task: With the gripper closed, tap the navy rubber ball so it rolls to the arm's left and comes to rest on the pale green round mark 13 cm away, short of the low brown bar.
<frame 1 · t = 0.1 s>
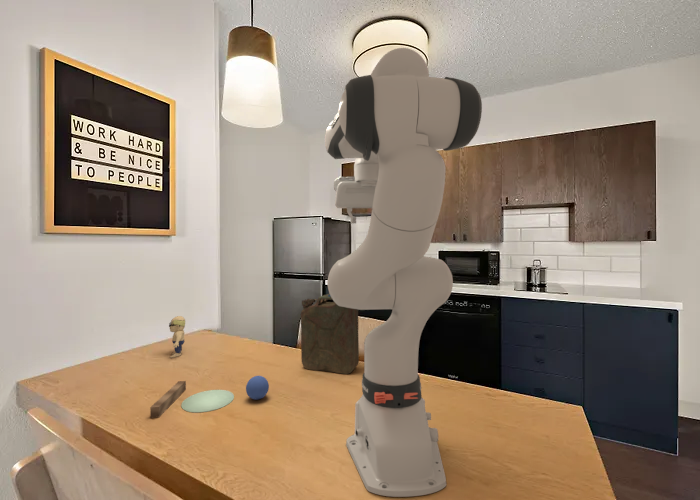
hand: (369, 223, 101), 48 cm above the table, tool pointing down, fingers open, 8 cm apart
toy: (177, 355, 130), on the table
canister: (329, 368, 114), on the table
ball: (257, 387, 92), on the table
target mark: (208, 400, 91), on the table
brown bar: (169, 402, 90), on the table
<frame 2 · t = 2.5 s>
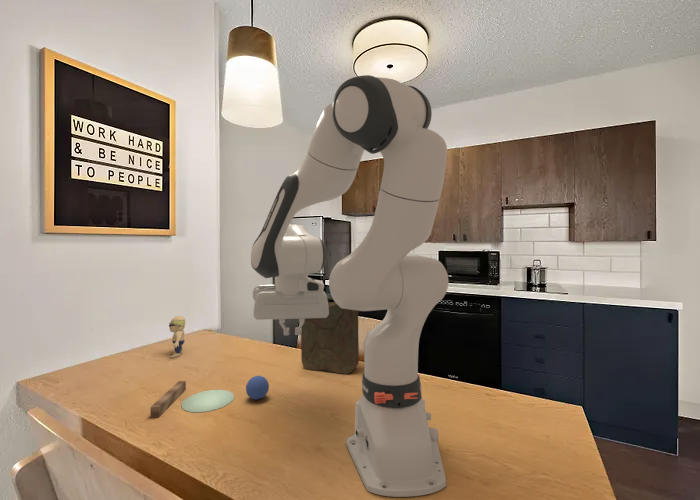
hand: (292, 334, 93), 17 cm above the table, tool pointing down, fingers closed
nothing on the table moved.
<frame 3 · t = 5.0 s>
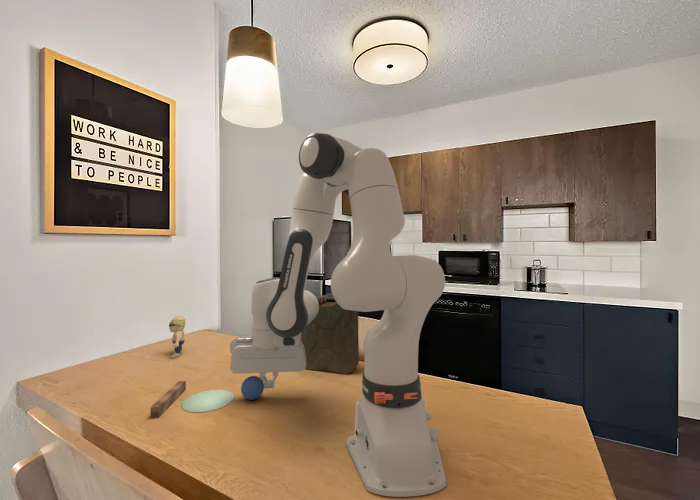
hand: (269, 387, 93), 3 cm above the table, tool pointing down, fingers closed
ball: (252, 387, 92), on the table, touching gripper
everything else where it was.
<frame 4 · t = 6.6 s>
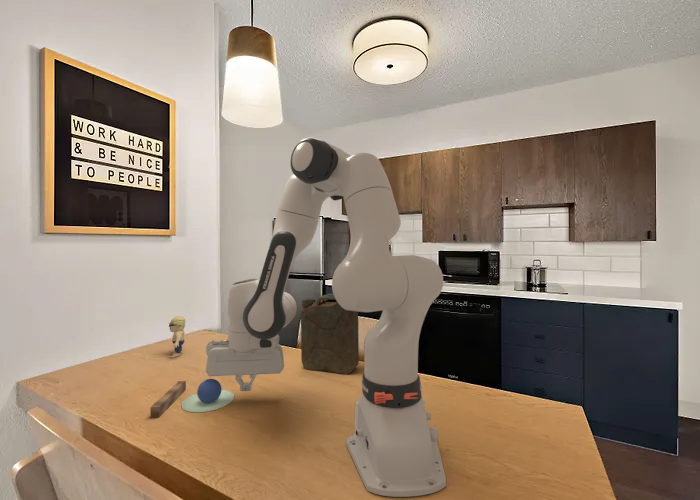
hand: (246, 390, 92), 2 cm above the table, tool pointing down, fingers closed
ball: (209, 390, 90), on the table
everything else where it was.
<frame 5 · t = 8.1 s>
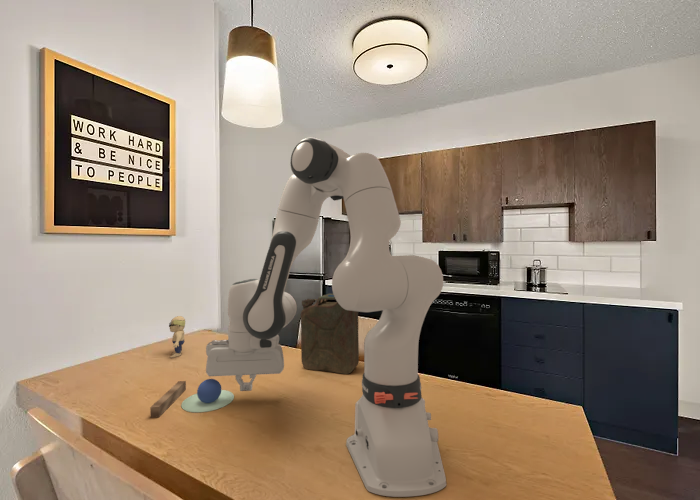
hand: (246, 390, 92), 2 cm above the table, tool pointing down, fingers closed
nothing on the table moved.
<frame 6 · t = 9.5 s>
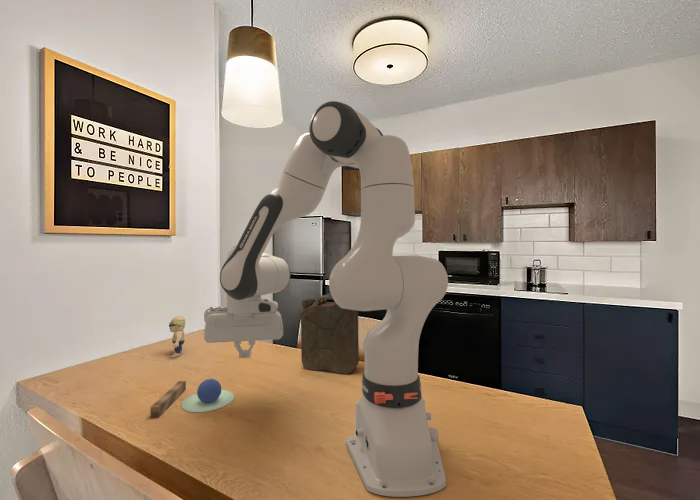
hand: (245, 357, 90), 12 cm above the table, tool pointing down, fingers closed
nothing on the table moved.
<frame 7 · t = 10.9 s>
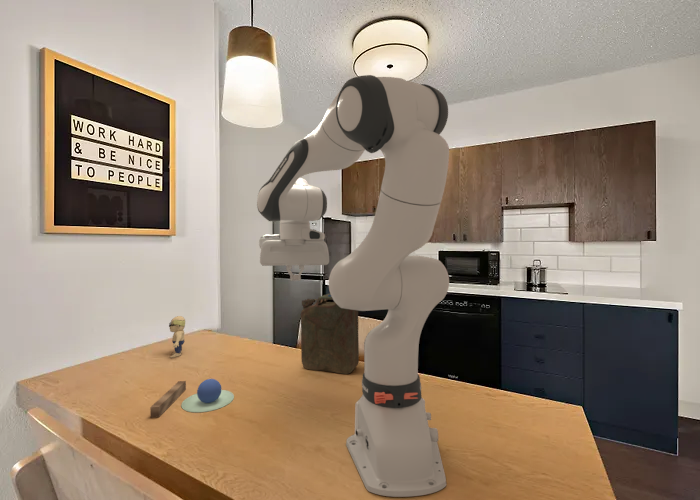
hand: (295, 280, 100), 31 cm above the table, tool pointing down, fingers closed
nothing on the table moved.
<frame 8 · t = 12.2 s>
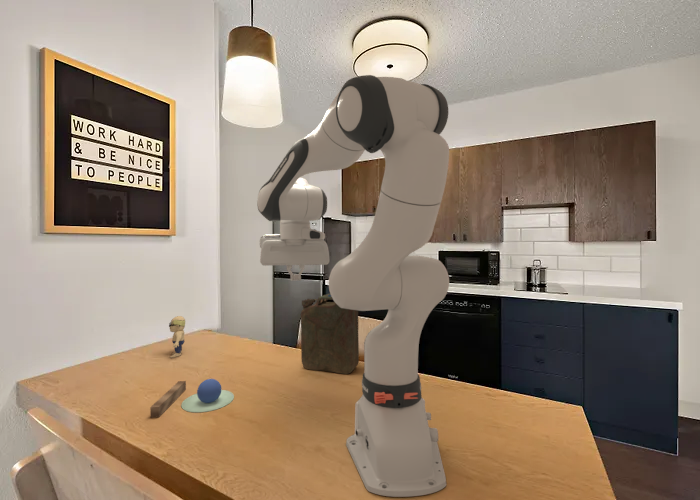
hand: (295, 280, 100), 31 cm above the table, tool pointing down, fingers closed
nothing on the table moved.
at the end: ball 1.1 cm from the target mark (horizontally); ball at rest at the end (0.0 cm/s); ball moved 12.4 cm from its start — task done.
